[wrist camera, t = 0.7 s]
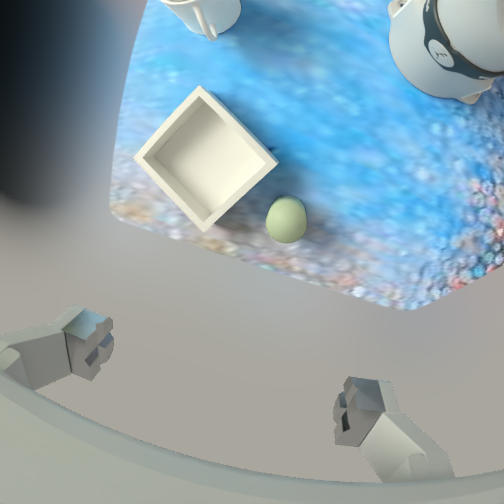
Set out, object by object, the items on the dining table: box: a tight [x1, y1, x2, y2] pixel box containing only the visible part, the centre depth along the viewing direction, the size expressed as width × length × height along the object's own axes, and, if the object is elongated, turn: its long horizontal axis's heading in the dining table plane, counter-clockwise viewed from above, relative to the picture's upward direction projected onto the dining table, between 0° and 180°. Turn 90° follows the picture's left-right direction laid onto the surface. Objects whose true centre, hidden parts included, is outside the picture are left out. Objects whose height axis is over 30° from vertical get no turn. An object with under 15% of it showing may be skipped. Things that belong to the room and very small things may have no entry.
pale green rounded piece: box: [266, 195, 307, 243], centre depth 42 cm, size 5×5×6 cm
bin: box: [134, 85, 280, 233], centre depth 41 cm, size 13×14×5 cm
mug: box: [160, 0, 241, 41], centre depth 31 cm, size 12×8×12 cm
